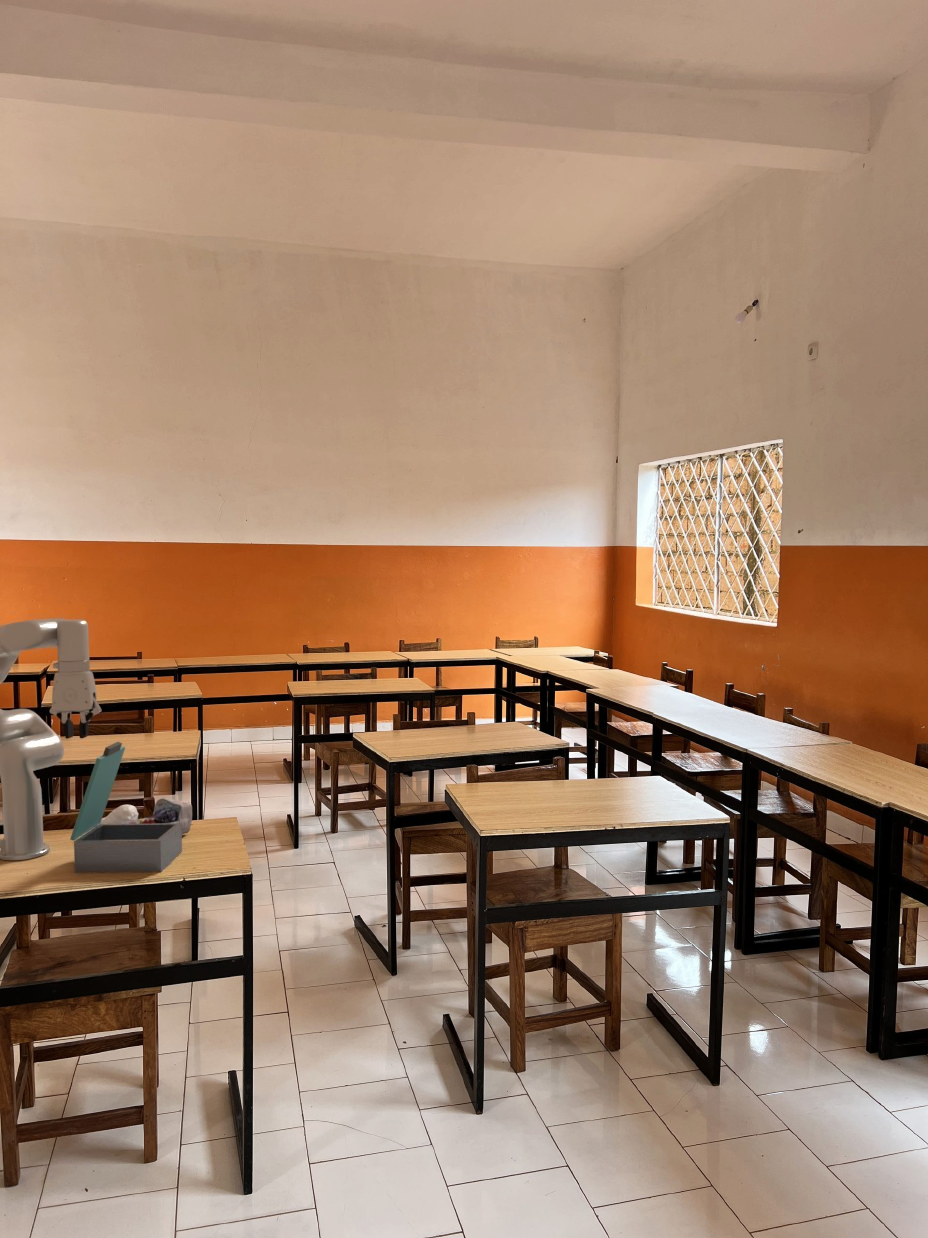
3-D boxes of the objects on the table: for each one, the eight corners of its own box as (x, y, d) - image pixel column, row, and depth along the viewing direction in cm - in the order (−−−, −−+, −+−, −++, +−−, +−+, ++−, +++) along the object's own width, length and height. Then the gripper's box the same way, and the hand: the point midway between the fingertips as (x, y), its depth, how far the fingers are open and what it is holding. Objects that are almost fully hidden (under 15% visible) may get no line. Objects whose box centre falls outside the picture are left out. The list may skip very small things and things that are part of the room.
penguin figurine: (128, 807, 259) (89, 810, 260) (132, 836, 259) (93, 839, 260) (139, 801, 265) (100, 805, 266) (142, 830, 265) (104, 833, 267)
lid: (74, 841, 228) (69, 839, 228) (100, 823, 244) (96, 822, 244) (103, 752, 227) (98, 750, 227) (128, 740, 243) (123, 738, 243)
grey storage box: (74, 872, 229) (73, 841, 228) (101, 853, 245) (100, 824, 244) (161, 872, 228) (160, 840, 228) (182, 852, 244) (181, 823, 244)
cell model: (197, 797, 261) (146, 816, 243) (198, 833, 262) (148, 855, 244) (162, 793, 267) (110, 811, 248) (164, 828, 267) (112, 849, 249)
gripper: (35, 669, 230) (38, 740, 231) (99, 668, 230) (101, 740, 231) (49, 666, 238) (52, 735, 239) (111, 665, 238) (113, 734, 239)
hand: (76, 737), depth 235 cm, fingers open, 3 cm apart
